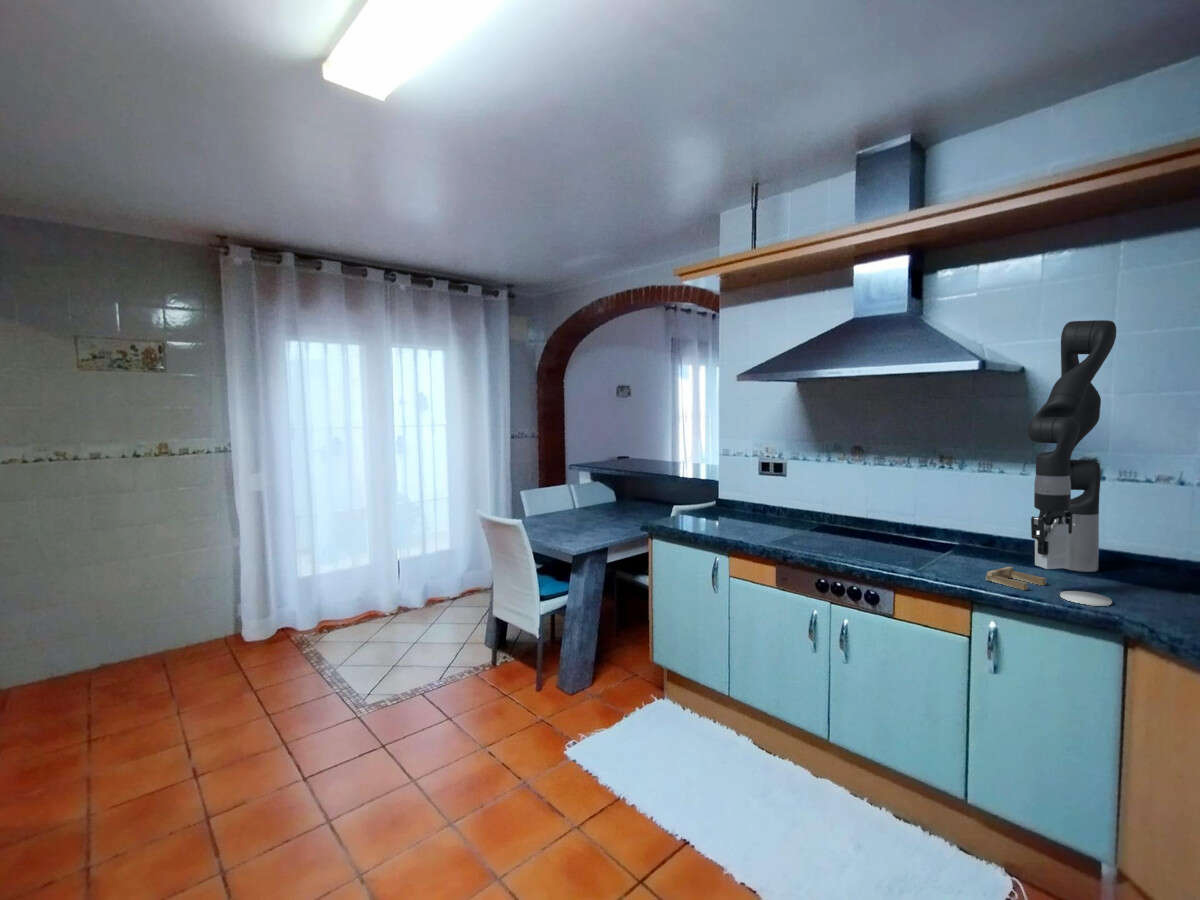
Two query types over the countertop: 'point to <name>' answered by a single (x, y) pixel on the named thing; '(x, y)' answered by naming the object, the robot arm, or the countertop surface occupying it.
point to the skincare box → (1055, 548)
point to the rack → (1007, 572)
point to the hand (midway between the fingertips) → (1051, 552)
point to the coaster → (1086, 598)
